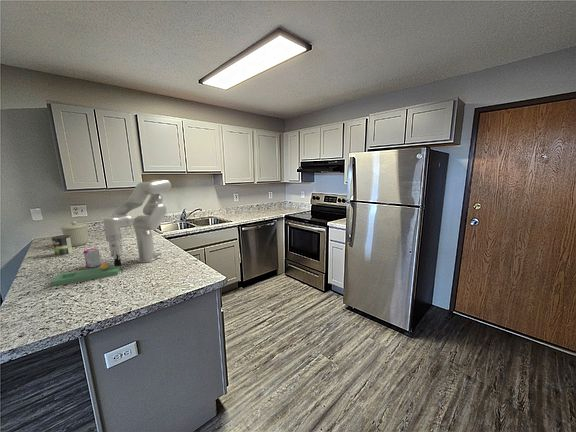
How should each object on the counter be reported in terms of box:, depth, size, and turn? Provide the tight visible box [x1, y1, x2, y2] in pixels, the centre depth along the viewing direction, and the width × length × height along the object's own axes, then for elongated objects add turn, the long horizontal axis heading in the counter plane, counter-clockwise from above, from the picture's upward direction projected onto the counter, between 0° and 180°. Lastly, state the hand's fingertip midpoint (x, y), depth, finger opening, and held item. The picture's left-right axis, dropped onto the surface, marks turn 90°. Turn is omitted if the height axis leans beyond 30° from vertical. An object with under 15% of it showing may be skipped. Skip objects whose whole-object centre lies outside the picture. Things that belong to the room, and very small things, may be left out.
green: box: [49, 264, 121, 287], centre depth 141 cm, size 30×12×2 cm, turn 119°
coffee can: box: [50, 235, 74, 258], centre depth 180 cm, size 10×10×14 cm
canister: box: [60, 220, 89, 247], centre depth 205 cm, size 18×18×21 cm
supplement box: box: [83, 248, 102, 269], centre depth 156 cm, size 6×6×12 cm
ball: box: [99, 262, 109, 270], centre depth 144 cm, size 4×4×4 cm
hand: (118, 265), depth 147 cm, fingers closed
